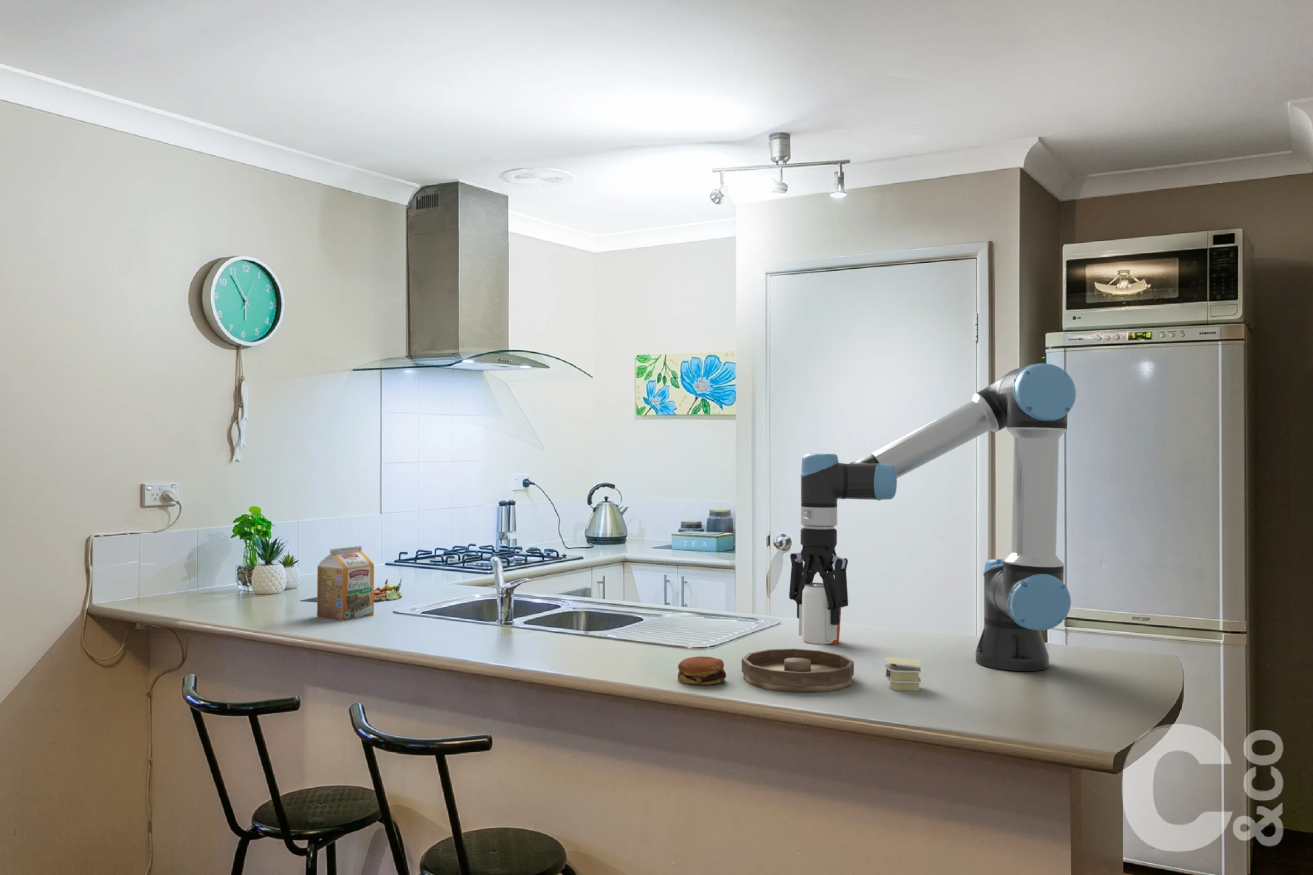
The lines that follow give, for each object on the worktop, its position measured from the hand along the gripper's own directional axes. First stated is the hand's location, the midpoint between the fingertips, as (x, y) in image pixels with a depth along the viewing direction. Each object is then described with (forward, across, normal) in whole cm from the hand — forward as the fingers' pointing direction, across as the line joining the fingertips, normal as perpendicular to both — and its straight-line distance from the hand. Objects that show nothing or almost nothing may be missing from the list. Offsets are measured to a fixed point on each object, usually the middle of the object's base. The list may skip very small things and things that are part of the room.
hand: (817, 637), depth 201 cm
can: (+1, 0, 0) cm, 1 cm away
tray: (+8, 0, -6) cm, 10 cm away
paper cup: (+8, -20, +28) cm, 35 cm away
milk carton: (+9, -127, -48) cm, 136 cm away
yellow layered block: (+8, +18, +4) cm, 20 cm away
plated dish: (+9, -154, -32) cm, 157 cm away
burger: (+8, -11, -22) cm, 26 cm away
